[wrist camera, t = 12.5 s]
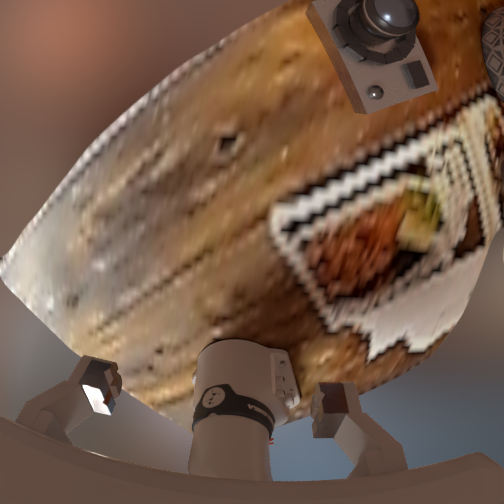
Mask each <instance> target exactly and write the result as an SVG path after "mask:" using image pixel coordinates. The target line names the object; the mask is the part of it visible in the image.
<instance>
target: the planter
mask: <svg viewBox="0 0 504 504" xmlns="http://www.w3.org/2000/svg"><path fill="white" fill-rule="evenodd" d="M482 50H483V57H484V61H485V65H486V69H487V72H488V75H489V77H490V80H491V82H492V85H493V87H494V89H495V90H496V92H497V94H498V96H499V97H500V99H501V100H502V102H503V103H504V6H503V7H500V8H497V9H495V10H493V11H492V12H491V13H490V14H489V15H488V16H487V18H486V20H485V23H484V26H483V30H482Z"/></svg>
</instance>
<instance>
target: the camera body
mask: <svg viewBox="0 0 504 504" xmlns="http://www.w3.org/2000/svg"><path fill="white" fill-rule="evenodd" d="M362 1H363V0H316V1H312V2H311V4H310V6H309V8H308V10H307V12H306V15H307V17H308V19H309V20H310V22H311V24H312V26H313V28H314V29H315V31H316V33H317V35H318V37H319V39H320V40H321V42H322V44H323V46H324V48H325V50H326V52H327V54H328V56H329V58H330V60H331V62H332V64H333V66H334V68H335V70H336V72H337V74H338V76H339V78H340V80H341V83H342V85H343V87H344V89H345V91H346V93H347V96H348V98H349V100H350V102H351V105H352V107H353V109H354V112H355V113H361V114H370V113H373V112H375V111H378V110H381V109H383V108H386V107H389V106H392V105H395V104H397V103H400V102H403V101H406V100H409V99H412V98H415V97H418V96H421V95H424V94H427V93H430V92H433V91H436V90H438V87H437V84H436V81H435V79H434V76H433V73H432V71H431V68H430V66H429V63H428V61H427V59H426V56H425V54H424V51H423V49H422V47H421V45H420V42H419V40H418V38H417V36H416V27H415V28H414V29H413V30H411V31H409V32H408V33H406V34H404V35H401V36H398V37H396V38H394V39H392V40H390V41H388V42H386V43H383V44H379V45H374V44H369V43H366V42H364V41H363V40H361V39H360V38H359V37H357V35H356V34H355V33H354V32H353V30H352V28H351V25H350V16H351V13H352V11H353V10H354V9H355V8H356V7H357V6H358V5H359V4H360V3H361V2H362Z"/></svg>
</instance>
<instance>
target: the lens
mask: <svg viewBox="0 0 504 504" xmlns="http://www.w3.org/2000/svg"><path fill="white" fill-rule="evenodd" d="M418 22H419V10H418V7H417V5H416V3H415V2H414V0H363V1H362V2H361V3H360V4H359V5H358V6H357V7H356V8H355V9H354V10H353V11H352V13H351V16H350V25H351V28H352V30H353V32H354V33H355V34H356V35H357V37H359V38H360V39H361V40H363V41H364V42H366V43H369V44H374V45H379V44H383V43H386V42H388V41H390V40H392V39H394V38H396V37H398V36H401V35H404V34H406V33H408V32H409V31H411V30H413V29H414V28H415V27H416V26H417V24H418Z"/></svg>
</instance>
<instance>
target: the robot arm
mask: <svg viewBox="0 0 504 504" xmlns="http://www.w3.org/2000/svg"><path fill="white" fill-rule="evenodd" d="M117 370H118V366H117V363H115V362H112V361H107V360H103V359H99V358H95V357H90V356H86V355H84V356H82V357H81V359H80V361H79V362H78V364H77V366H76V367H75V369H74V371H73V373H72V374H71V376H70V378H69V380H68V381H66V380H65V381H63V382H61V383H59V384H58V385H56V386H54V387H52V388H50V389H49V390H47V391H45V392H43V393H42V394H40V395H38V396H36V397H35V398H33V399H31V400H29V401H27V402H26V404H25V406H24V407H23V409H22V411H21V412H20V414H19V416H18V418H17V419H16V421H15V422H14V421H12V420H10V419H8V418H6V417H4V416H2V415H0V504H504V469H503V468H502V466H500V465H499V464H497V463H496V462H495V461H494V460H492V459H490V458H489V457H488V456H486V455H484V454H483V453H481V452H475V453H471V454H467V455H464V456H461V457H458V458H454V459H451V460H447V461H444V462H439V463H436V464H431V465H427V466H423V467H418V468H414V469H408V466H407V462H406V458H405V455H404V451H403V448H402V445H401V444H400V443H399V442H398V441H396V440H395V439H394V438H393V437H392V436H391V435H390V434H389V433H387V432H386V431H385V430H384V429H383V428H382V427H381V426H380V425H378V423H376V422H375V421H374V420H373V419H372V418H371V417H370V416H369V415H368V414H367V413H362V410H361V405H360V401H359V397H358V393H357V389H356V386H355V383H354V382H318V383H317V384H316V387H315V392H316V393H315V394H314V395H313V396H312V400H311V417H312V418H313V419H314V421H313V424H312V430H313V438H333V439H334V440H335V442H336V443H337V444H338V445H339V446H340V448H341V449H342V450H343V451H344V453H345V454H346V455H347V456H348V458H349V459H350V460H351V461H352V463H353V464H354V465H355V466H356V467H355V468H354V469H353V471H352V472H351V473H350V474H349V476H348V477H347V479H335V480H322V481H321V480H320V481H273V479H272V475H271V467H270V455H269V445H270V444H273V443H269V442H270V441H272V440H273V438H271V435H272V432H273V430H274V428H276V427H278V426H280V425H282V424H284V423H285V422H286V421H287V420H288V418H289V409H291V408H293V407H295V406H296V405H297V404H299V403H300V394H299V391H298V387H297V384H296V380H295V376H294V373H293V369H292V366H291V362H290V359H289V355H288V353H287V351H285V350H282V349H273V348H267V347H264V346H262V345H260V344H257V343H255V342H251V341H247V340H239V339H231V340H223V341H219V342H216V343H213V344H211V345H209V346H208V347H206V348H205V349H204V350H203V351H202V352H201V353H200V355H199V357H198V361H197V370H196V372H195V373H194V374H193V376H192V383H193V384H194V385H195V389H194V401H193V410H194V415H193V418H192V431H193V433H194V434H193V439H192V445H191V450H190V456H189V461H188V471H189V474H184V473H178V472H172V471H167V470H161V469H156V468H152V467H147V466H142V465H138V464H134V463H130V462H125V461H122V460H118V459H114V458H111V457H107V456H103V455H100V454H97V453H94V452H90V451H87V450H84V449H81V448H78V447H75V446H73V444H72V442H71V441H70V439H69V438H68V436H67V435H66V434H67V433H68V432H70V431H71V430H72V429H74V428H75V427H76V426H77V425H78V424H80V423H81V422H82V421H84V420H85V419H86V418H87V417H88V416H90V415H91V414H92V413H94V412H93V411H95V412H99V413H103V414H107V415H111V414H112V412H113V410H114V407H115V405H116V403H115V400H114V399H115V398H117V397H118V396H119V395H120V392H121V388H122V379H121V375H120V374H119V373H118V372H117ZM270 438H271V439H270Z"/></svg>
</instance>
